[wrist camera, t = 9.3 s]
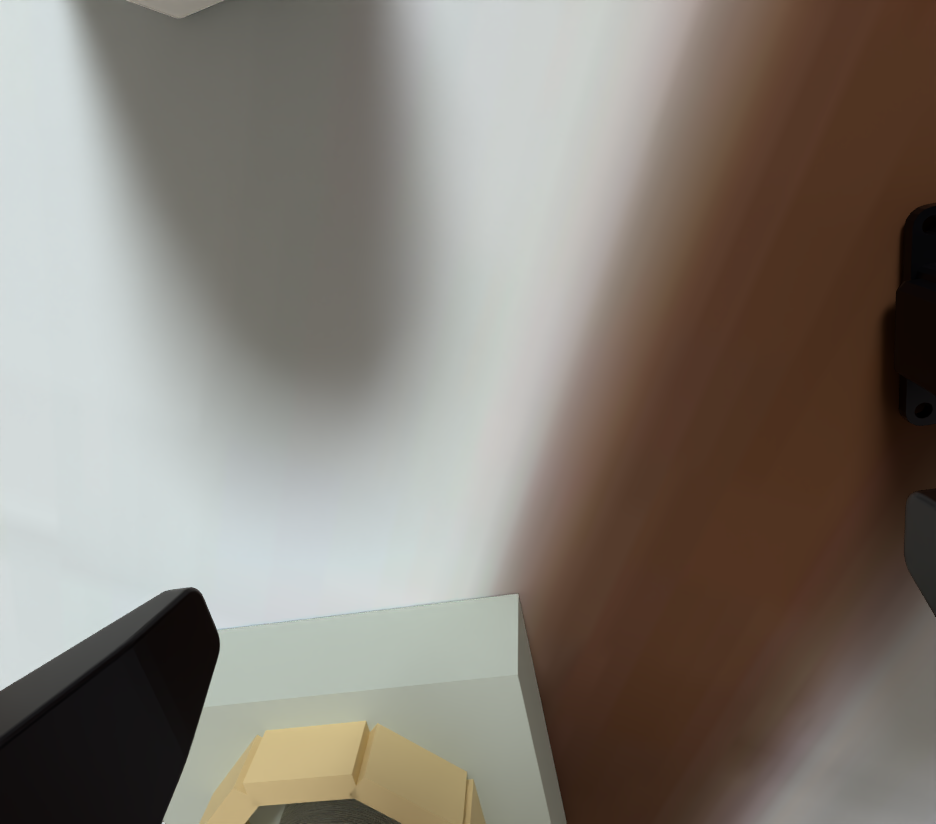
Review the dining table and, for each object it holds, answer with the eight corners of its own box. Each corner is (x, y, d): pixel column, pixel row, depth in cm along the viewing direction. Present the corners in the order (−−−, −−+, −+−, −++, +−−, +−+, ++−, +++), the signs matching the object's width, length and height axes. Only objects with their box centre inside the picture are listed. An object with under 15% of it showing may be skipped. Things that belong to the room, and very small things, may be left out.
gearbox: (518, 593, 24) (517, 727, 19) (566, 822, 29) (577, 986, 23) (99, 644, 27) (-12, 775, 21) (201, 848, 31) (131, 1003, 25)
